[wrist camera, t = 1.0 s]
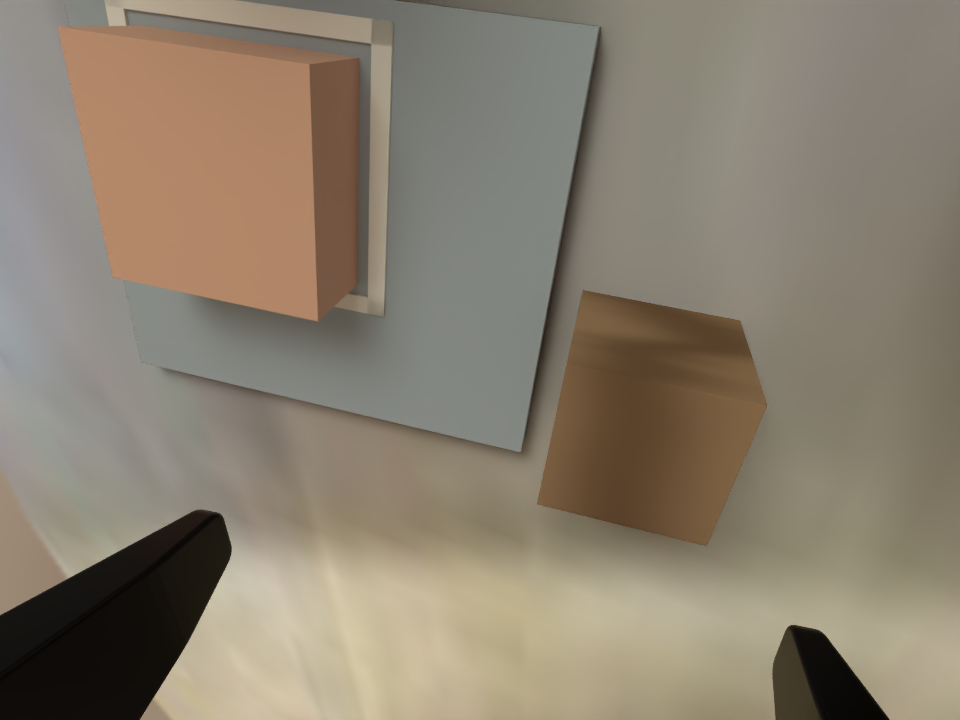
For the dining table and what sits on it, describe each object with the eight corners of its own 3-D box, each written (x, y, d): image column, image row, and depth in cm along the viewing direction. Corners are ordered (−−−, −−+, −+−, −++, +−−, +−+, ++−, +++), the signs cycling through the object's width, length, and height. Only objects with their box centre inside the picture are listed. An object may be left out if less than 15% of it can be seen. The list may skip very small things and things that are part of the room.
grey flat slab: (601, 26, 16) (598, 27, 15) (524, 439, 23) (520, 454, 22) (76, -42, 18) (52, -44, 18) (154, 353, 26) (139, 363, 25)
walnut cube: (739, 319, 19) (767, 405, 15) (694, 442, 22) (706, 545, 17) (583, 289, 20) (567, 363, 16) (557, 412, 22) (536, 504, 18)
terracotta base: (359, 57, 17) (309, 64, 15) (357, 284, 21) (317, 321, 18) (140, 25, 18) (57, 26, 16) (175, 246, 22) (113, 277, 19)
